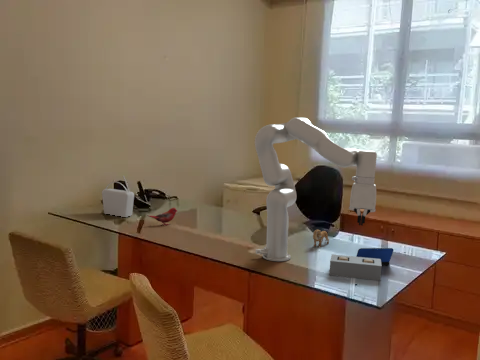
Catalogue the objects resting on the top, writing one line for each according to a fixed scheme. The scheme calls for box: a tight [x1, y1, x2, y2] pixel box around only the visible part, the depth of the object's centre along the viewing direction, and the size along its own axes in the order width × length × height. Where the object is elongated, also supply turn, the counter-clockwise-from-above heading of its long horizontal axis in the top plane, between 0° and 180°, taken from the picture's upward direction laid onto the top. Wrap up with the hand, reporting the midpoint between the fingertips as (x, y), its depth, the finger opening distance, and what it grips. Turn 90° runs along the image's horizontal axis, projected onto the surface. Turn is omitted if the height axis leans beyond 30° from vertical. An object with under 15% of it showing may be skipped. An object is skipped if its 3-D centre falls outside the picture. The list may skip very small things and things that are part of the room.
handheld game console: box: [355, 247, 394, 266], centre depth 215 cm, size 16×13×9 cm
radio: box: [101, 175, 135, 218], centre depth 299 cm, size 22×8×25 cm, turn 58°
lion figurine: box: [312, 229, 330, 248], centre depth 244 cm, size 15×5×9 cm, turn 150°
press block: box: [329, 254, 382, 281], centre depth 200 cm, size 20×10×6 cm, turn 76°
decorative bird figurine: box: [146, 207, 178, 226], centre depth 276 cm, size 3×18×10 cm, turn 112°
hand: (360, 224), depth 200 cm, fingers closed
